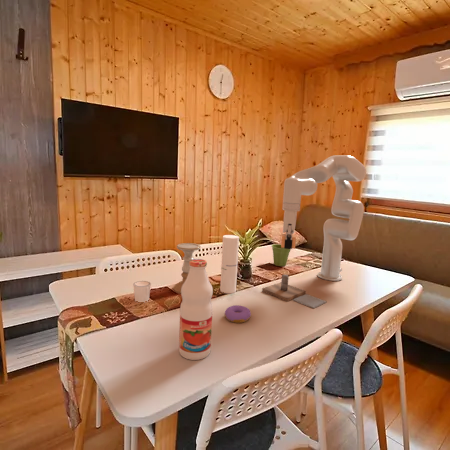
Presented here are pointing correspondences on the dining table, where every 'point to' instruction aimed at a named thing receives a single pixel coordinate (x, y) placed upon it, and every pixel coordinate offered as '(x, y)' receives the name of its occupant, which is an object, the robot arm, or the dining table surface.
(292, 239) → the orange bevelled cube
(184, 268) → the candle holder
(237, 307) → the donut
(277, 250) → the plant pot
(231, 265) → the cylindrical container
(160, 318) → the dining table surface
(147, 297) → the shot glass
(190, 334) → the fruit juice
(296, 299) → the rubber pad
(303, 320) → the dining table surface
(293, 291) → the post stand
